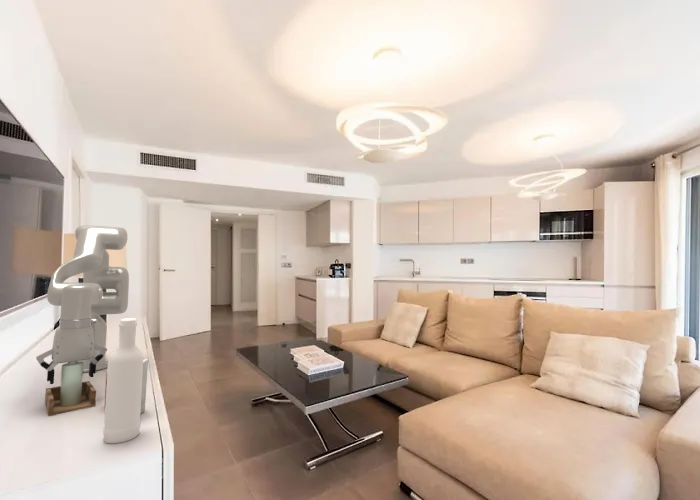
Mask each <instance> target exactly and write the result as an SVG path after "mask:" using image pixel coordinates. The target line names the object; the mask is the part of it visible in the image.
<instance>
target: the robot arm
mask: <svg viewBox="0 0 700 500" xmlns="http://www.w3.org/2000/svg"><path fill="white" fill-rule="evenodd" d="M74 235H75V236H74V237H75V239H76V244H75V248H74V253H73V258H70V259H69V260H66V261H65V262H64V263H63V264H61V265H60V266H58V268H57V269H55V271H54V272H53V273H52V275H51V278H50V280H49V285H48V288H47V294H46V297H47V298H46V299H47V301H48V303H49V304H50V305H52V306H55V307H59V306H60V315H59V316H60V317H59V328H57V329H56V330H55V333H54V336H53V340H52V341H53V343H52V348H51V349H49V350H47V351H45V352H43V353H41V354H39V355H36V357H35V358H36V360H37V362H38V364H39V365H40V367H42V368H43V369H45V370H46V371H47V374H46V381H47V382H49V384H50V385H53V384H54V383H55V367H57V365H59V364H65V363H68V362H74V361H78V362H83V373H88V376H89V377H90V378H93V377H94V374H96V373H97V372H96V371H101V370H104V369H106V368H107V369H108V361H106V352H107V351H108V349H107V347H106V345H107V331H108V329H107V327H108V326H107V325H108V324H107V321H106V320H104V318H102V317H101V316H103V315H104V316H105V315H121V314H124V313H125V312H127V310H128V305H129V289H130V285H129V284H130V283H129V282H130V275H129V271H128V270H127V268H126V267H123V266H110V254H109V252H108V251H107V250H111V251H112V250H113V251H117V250H118V251H120V250H123V249H124V247H125V246H126V244H127V242H128V231H127V230H126V228H124V227H117V226H105V225H104V226H103V225H88V224H87V225H80V226H77V227H76V229H75V231H74ZM80 274H83V275H82V278H83V280H82V281H83V282H65V281H66V280H67V279H69V278H71V277H73V276H76V275H80ZM104 290H115V291H104ZM49 356H51V360H52V361H50V363H48V362H46V361H45V358H47V357H49Z"/></svg>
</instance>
